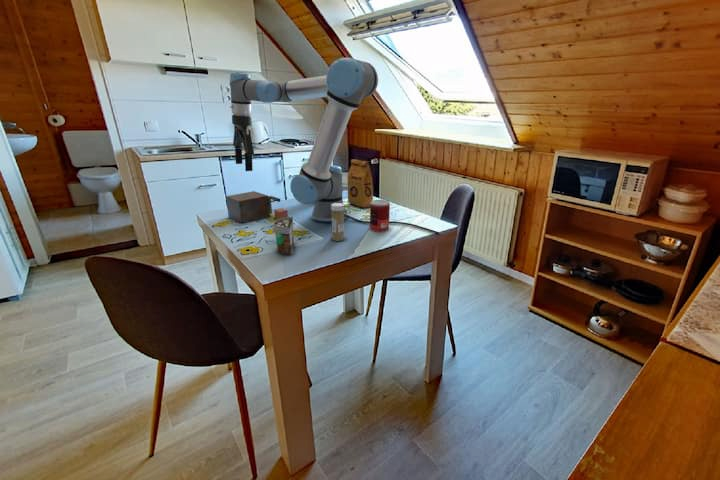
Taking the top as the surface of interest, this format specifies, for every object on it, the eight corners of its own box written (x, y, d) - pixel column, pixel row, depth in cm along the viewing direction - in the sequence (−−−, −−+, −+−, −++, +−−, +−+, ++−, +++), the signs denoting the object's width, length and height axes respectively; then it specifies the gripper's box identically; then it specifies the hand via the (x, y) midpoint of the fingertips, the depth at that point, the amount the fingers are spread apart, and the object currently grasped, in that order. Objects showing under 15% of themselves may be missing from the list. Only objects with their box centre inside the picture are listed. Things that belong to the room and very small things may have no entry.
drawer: (271, 206, 166) (269, 190, 163) (283, 210, 160) (282, 194, 157) (235, 214, 154) (232, 197, 151) (246, 219, 147) (244, 201, 144)
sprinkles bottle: (344, 241, 127) (344, 205, 122) (332, 241, 126) (331, 206, 122) (343, 236, 131) (343, 202, 126) (331, 237, 131) (330, 202, 126)
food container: (277, 243, 125) (274, 216, 121) (294, 242, 125) (292, 216, 122) (271, 257, 113) (269, 228, 110) (290, 256, 114) (288, 227, 110)
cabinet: (256, 211, 162) (254, 191, 158) (269, 216, 154) (267, 195, 151) (228, 217, 153) (225, 196, 149) (241, 223, 145) (238, 201, 142)
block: (288, 218, 151) (287, 210, 150) (280, 220, 148) (279, 212, 147) (282, 216, 154) (282, 208, 152) (275, 218, 151) (274, 210, 150)
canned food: (390, 226, 143) (391, 200, 139) (385, 232, 136) (386, 205, 132) (373, 224, 145) (373, 198, 141) (367, 230, 138) (367, 203, 134)
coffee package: (361, 209, 166) (361, 163, 158) (345, 203, 174) (344, 159, 166) (376, 205, 172) (377, 160, 164) (359, 200, 180) (360, 157, 172)
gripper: (223, 111, 146) (226, 161, 155) (241, 118, 128) (244, 174, 136) (241, 111, 150) (243, 160, 159) (261, 118, 132) (262, 173, 141)
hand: (243, 167), depth 148 cm, fingers open, 13 cm apart
